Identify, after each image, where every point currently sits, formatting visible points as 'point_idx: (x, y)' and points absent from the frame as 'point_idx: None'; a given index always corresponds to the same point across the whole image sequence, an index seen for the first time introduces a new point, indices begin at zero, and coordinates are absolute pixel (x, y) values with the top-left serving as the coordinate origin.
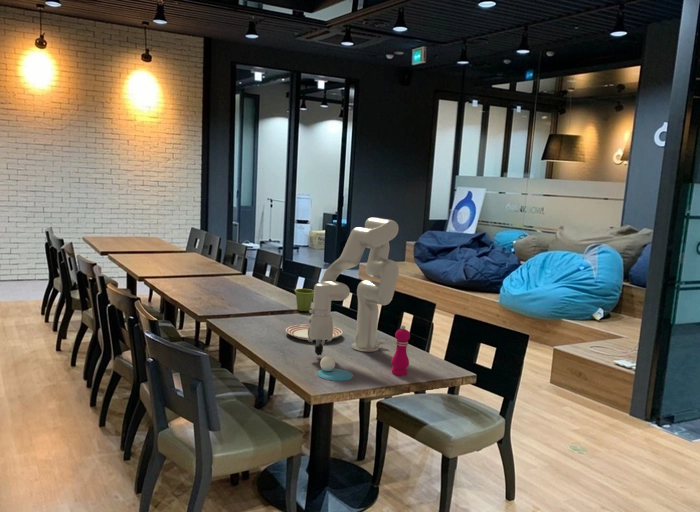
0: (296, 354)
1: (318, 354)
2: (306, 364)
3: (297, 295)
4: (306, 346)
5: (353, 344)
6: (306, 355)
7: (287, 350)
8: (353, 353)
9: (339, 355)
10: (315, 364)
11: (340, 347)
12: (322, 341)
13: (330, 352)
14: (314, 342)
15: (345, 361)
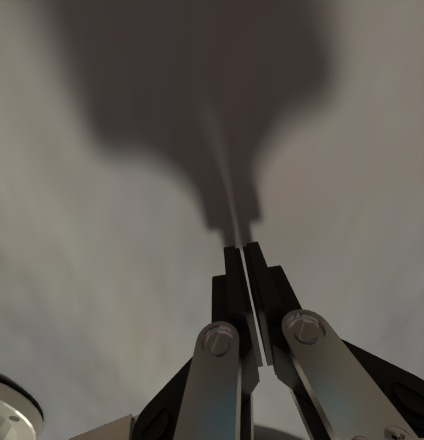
0: (383, 302)
1: (253, 243)
2: (407, 37)
3: None
4: (276, 410)
5: (24, 433)
6: (318, 289)
7: (409, 359)
8: (8, 341)
9: (89, 305)
10: (306, 48)
11: (100, 408)
12: (232, 400)
13: (150, 347)
14: (381, 371)
15: (18, 179)
